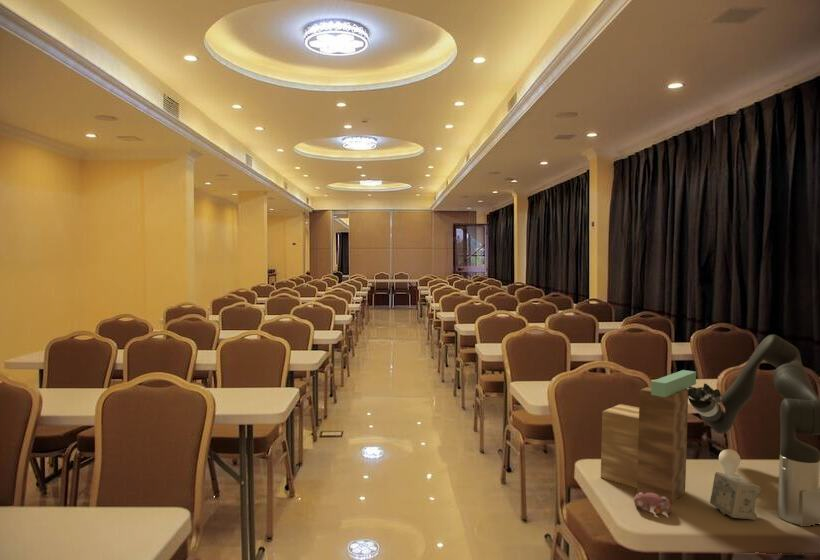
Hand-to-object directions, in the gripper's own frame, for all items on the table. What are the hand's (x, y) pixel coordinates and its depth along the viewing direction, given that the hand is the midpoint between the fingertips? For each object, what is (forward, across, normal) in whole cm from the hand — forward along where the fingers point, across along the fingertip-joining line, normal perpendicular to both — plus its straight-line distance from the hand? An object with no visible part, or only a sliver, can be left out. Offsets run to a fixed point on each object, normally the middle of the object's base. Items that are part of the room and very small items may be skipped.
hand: (690, 384), depth 188 cm
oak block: (-6, -15, +33) cm, 37 cm away
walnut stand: (-1, -2, +36) cm, 36 cm away
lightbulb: (-22, +10, +24) cm, 34 cm away
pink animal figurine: (+12, +1, +44) cm, 45 cm away
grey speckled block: (-2, +18, +36) cm, 40 cm away
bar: (+12, 0, +7) cm, 14 cm away
